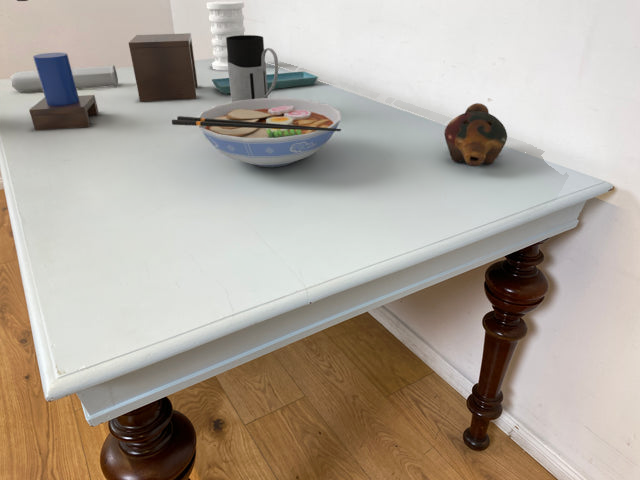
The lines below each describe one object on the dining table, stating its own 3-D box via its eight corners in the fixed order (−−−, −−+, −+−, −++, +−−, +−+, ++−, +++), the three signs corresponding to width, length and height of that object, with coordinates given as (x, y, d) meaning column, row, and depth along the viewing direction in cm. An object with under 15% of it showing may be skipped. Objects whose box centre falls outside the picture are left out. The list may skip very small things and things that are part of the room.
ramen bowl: (356, 142, 87) (358, 96, 82) (333, 194, 67) (334, 137, 63) (226, 134, 91) (221, 90, 87) (169, 181, 72) (160, 127, 68)
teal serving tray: (304, 78, 133) (304, 69, 132) (318, 85, 126) (318, 75, 125) (212, 89, 123) (210, 79, 122) (222, 96, 116) (221, 86, 115)
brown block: (139, 101, 113) (128, 42, 106) (146, 89, 124) (136, 35, 117) (196, 98, 115) (188, 40, 108) (197, 86, 126) (190, 33, 119)
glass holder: (254, 104, 110) (248, 33, 102) (295, 116, 101) (293, 40, 94) (222, 111, 105) (214, 37, 97) (263, 125, 96) (257, 45, 88)
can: (43, 106, 94) (28, 58, 90) (51, 99, 99) (38, 53, 95) (75, 104, 95) (62, 57, 91) (82, 97, 100) (70, 52, 96)
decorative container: (204, 67, 148) (196, 3, 139) (233, 62, 156) (227, 0, 147) (229, 72, 142) (222, 4, 133) (257, 66, 150) (253, 2, 140)
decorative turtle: (494, 145, 84) (505, 100, 80) (507, 185, 72) (521, 134, 68) (438, 139, 86) (446, 95, 81) (441, 178, 73) (451, 128, 69)
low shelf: (35, 130, 94) (28, 109, 92) (49, 116, 103) (44, 97, 101) (88, 126, 96) (83, 106, 94) (99, 113, 104) (94, 94, 102)
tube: (5, 78, 118) (113, 71, 123) (8, 67, 121) (113, 61, 126) (14, 97, 122) (118, 90, 127) (17, 86, 125) (118, 79, 130)
